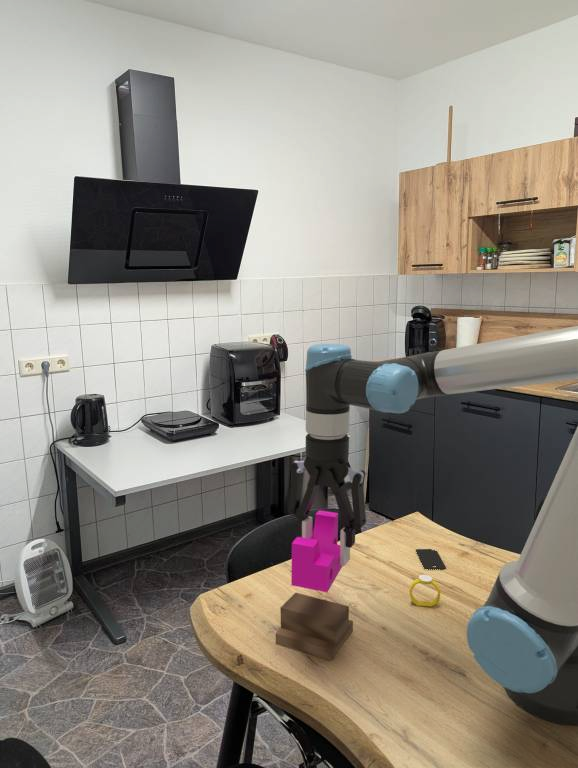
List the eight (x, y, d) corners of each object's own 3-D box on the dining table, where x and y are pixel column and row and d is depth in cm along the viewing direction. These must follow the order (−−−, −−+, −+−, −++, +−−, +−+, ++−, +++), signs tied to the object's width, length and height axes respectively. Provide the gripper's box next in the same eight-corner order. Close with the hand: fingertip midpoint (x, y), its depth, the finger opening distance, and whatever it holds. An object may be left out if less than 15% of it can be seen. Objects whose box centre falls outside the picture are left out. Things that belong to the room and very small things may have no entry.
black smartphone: (435, 548, 142) (446, 568, 133) (435, 551, 143) (446, 571, 133) (415, 549, 142) (424, 568, 133) (415, 551, 143) (424, 571, 133)
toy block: (327, 592, 95) (328, 549, 94) (291, 585, 98) (291, 543, 96) (350, 552, 109) (351, 515, 108) (318, 547, 111) (318, 510, 110)
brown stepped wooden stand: (352, 630, 110) (352, 601, 109) (331, 660, 101) (331, 628, 100) (300, 616, 115) (300, 587, 114) (275, 643, 106) (275, 613, 105)
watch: (438, 603, 119) (441, 576, 118) (439, 611, 116) (442, 583, 115) (408, 599, 120) (411, 572, 119) (408, 606, 118) (411, 579, 116)
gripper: (389, 436, 99) (385, 561, 104) (287, 422, 109) (287, 537, 113) (373, 447, 93) (369, 580, 97) (267, 431, 102) (267, 553, 107)
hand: (325, 557), depth 105 cm, fingers closed on toy block, 7 cm apart
